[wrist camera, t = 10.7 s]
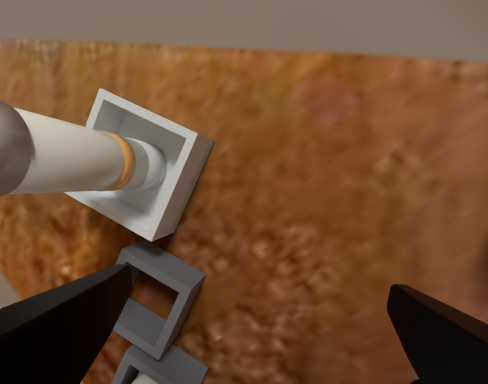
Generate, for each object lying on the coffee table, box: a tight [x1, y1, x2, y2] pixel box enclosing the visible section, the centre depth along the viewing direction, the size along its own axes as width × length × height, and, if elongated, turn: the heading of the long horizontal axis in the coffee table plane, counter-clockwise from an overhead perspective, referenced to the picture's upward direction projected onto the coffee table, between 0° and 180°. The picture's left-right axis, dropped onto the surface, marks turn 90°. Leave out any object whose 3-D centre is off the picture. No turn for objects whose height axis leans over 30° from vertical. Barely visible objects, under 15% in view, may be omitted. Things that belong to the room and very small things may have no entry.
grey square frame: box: [113, 240, 206, 360], centre depth 20 cm, size 6×6×3 cm
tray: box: [64, 88, 214, 242], centre depth 20 cm, size 8×8×4 cm
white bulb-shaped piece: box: [0, 101, 167, 196], centre depth 14 cm, size 4×4×13 cm
